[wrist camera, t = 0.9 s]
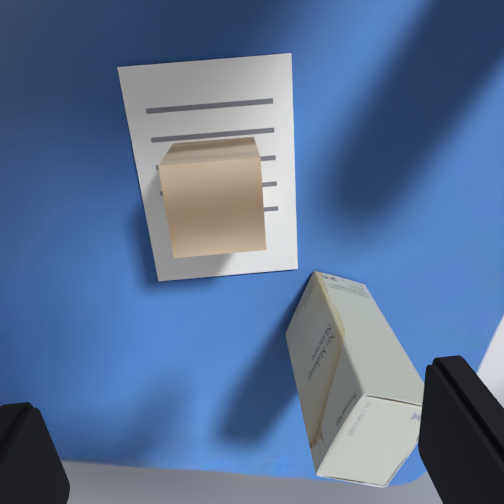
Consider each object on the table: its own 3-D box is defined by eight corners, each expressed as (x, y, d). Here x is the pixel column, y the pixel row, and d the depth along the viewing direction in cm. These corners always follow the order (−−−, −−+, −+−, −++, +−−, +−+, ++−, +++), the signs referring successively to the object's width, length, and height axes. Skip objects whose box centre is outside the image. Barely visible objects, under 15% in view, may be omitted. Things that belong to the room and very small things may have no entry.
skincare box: (313, 268, 30) (362, 388, 19) (367, 283, 31) (445, 407, 20) (283, 336, 32) (311, 477, 21) (334, 349, 33) (387, 491, 22)
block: (173, 143, 26) (158, 165, 20) (253, 136, 26) (260, 157, 20) (184, 219, 28) (173, 258, 22) (258, 212, 28) (266, 249, 22)
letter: (118, 67, 24) (117, 67, 24) (290, 53, 24) (291, 53, 24) (159, 279, 30) (158, 281, 29) (296, 266, 30) (297, 268, 30)
